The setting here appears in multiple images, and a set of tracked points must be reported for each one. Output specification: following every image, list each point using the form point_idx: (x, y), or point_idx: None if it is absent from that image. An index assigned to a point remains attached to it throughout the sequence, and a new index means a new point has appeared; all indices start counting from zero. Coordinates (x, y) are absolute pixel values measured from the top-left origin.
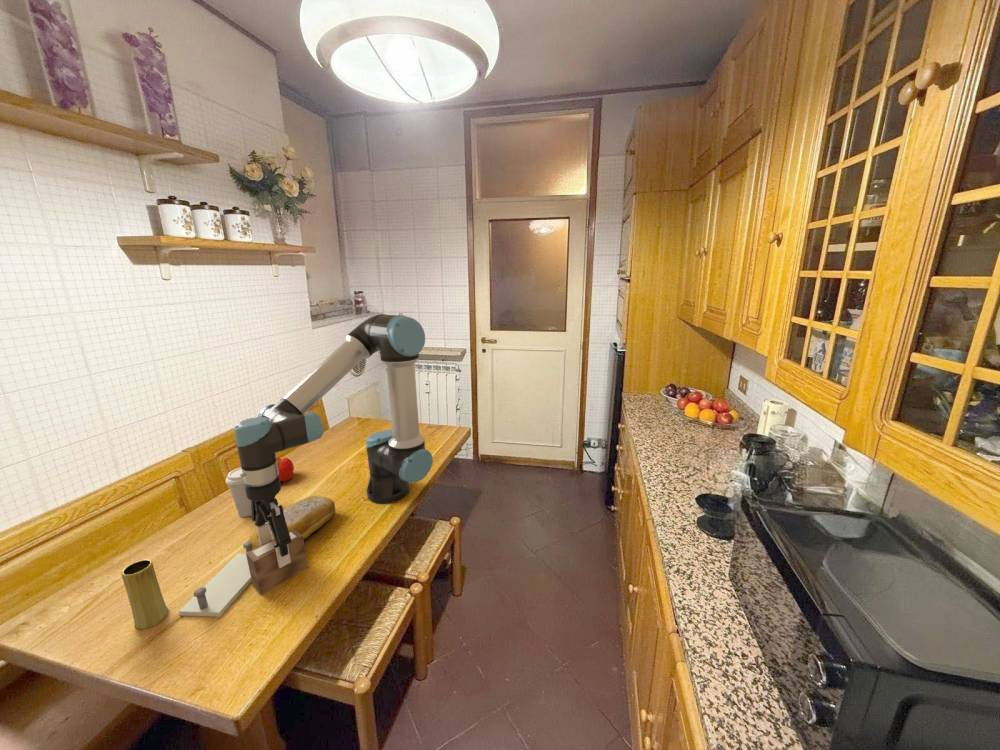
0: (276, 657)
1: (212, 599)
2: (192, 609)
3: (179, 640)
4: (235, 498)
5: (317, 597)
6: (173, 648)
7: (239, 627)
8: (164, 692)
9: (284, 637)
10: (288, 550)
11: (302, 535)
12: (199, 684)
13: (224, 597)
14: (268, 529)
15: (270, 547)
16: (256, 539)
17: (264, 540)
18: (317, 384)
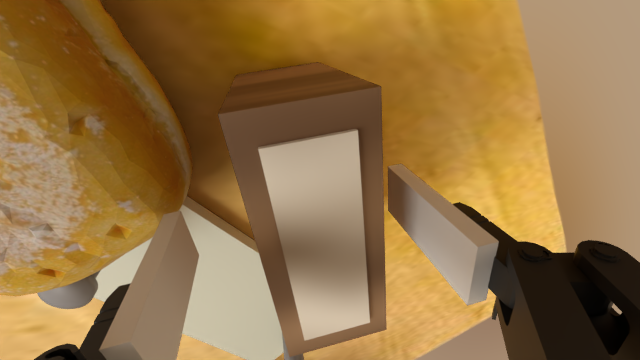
0: (544, 215)
1: (276, 320)
2: (281, 348)
3: (344, 344)
4: None
5: (486, 91)
6: (356, 348)
7: (406, 264)
8: (440, 343)
9: (519, 195)
10: (442, 199)
11: (83, 6)
12: (472, 310)
13: None
14: (153, 301)
15: (343, 275)
16: (71, 275)
17: (185, 274)
18: None
